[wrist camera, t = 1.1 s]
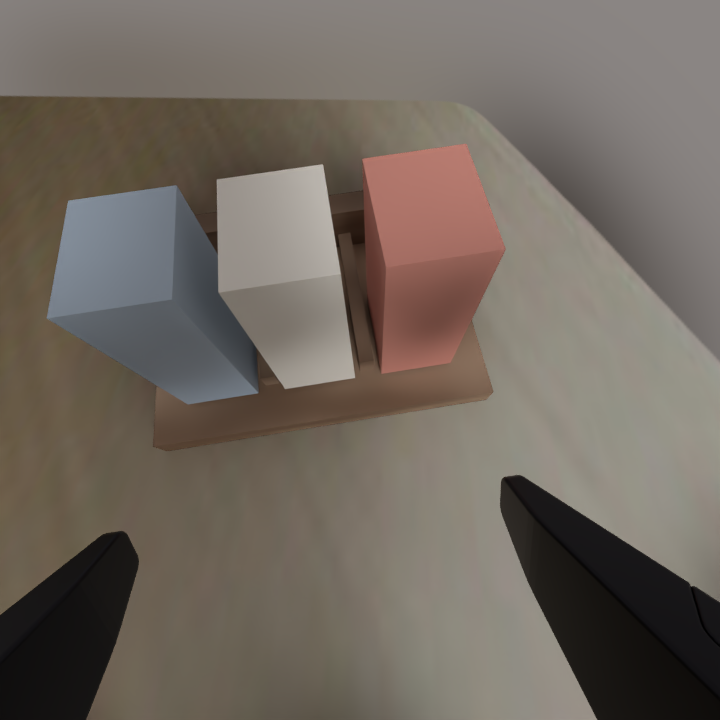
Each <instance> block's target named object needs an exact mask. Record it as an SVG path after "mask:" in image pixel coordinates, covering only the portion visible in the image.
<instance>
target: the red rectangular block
mask: <svg viewBox="0 0 720 720" xmlns="http://www.w3.org/2000/svg"><path fill="white" fill-rule="evenodd" d="M362 165H363V193H364V222H365V251H366V279H367V301H368V306H369V311H370V317H371V322H372V327H373V332H374V338H375V343H376V348H377V354H378V359H379V364H380V369H381V374H384V373H390V372H397V371H403V370H409V369H416V368H422V367H428V366H435V365H441V364H447V363H451V361H452V359H453V357H454V355H455V353H456V351H457V349H458V347H459V344H460V342H461V340H462V338H463V336H464V334H465V332H466V330H467V328H468V326H469V324H470V322H471V320H472V318H473V316H474V314H475V311H476V309H477V307H478V305H479V303H480V301H481V299H482V297H483V295H484V293H485V291H486V289H487V287H488V285H489V283H490V281H491V279H492V276H493V274H494V272H495V270H496V268H497V266H498V264H499V262H500V260H501V258H502V256H503V254H504V252H505V250H506V249H505V246H504V243H503V241H502V238H501V235H500V233H499V230H498V227H497V225H496V222H495V219H494V217H493V214H492V211H491V209H490V206H489V203H488V200H487V198H486V195H485V192H484V190H483V187H482V184H481V182H480V179H479V176H478V174H477V171H476V168H475V166H474V163H473V160H472V158H471V155H470V152H469V150H468V147H467V144H462V145H455V146H448V147H441V148H434V149H427V150H420V151H413V152H406V153H399V154H392V155H385V156H378V157H371V158H364V159H362Z"/></svg>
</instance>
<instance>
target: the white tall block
mask: <svg viewBox="0 0 720 720" xmlns="http://www.w3.org/2000/svg"><path fill="white" fill-rule="evenodd" d="M217 230H218V293H219V294H220V296H221V297H222V299H223V300H224V301H225V303H226V304H227V306H228V307H229V309H230V310H231V312H232V313H233V314H234V316H235V317H236V319H237V320H238V322H239V323H240V325H241V326H242V327H243V329H244V330H245V332H246V333H247V335H248V336H249V338H250V339H251V340H252V342H253V343H254V345H255V346H256V348H257V349H258V351H259V352H260V353H261V355H262V356H263V358H264V359H265V361H266V362H267V364H268V365H269V366H270V368H271V369H272V371H273V372H274V374H275V375H276V377H277V378H278V379H279V381H280V382H281V384H282V385H283V387H284V388H285V389H289V388H295V387H302V386H308V385H314V384H321V383H327V382H333V381H339V380H346V379H352V378H355V373H354V365H353V358H352V351H351V344H350V337H349V330H348V322H347V315H346V308H345V301H344V294H343V287H342V279H341V273H340V266H339V260H338V254H337V248H336V242H335V236H334V230H333V223H332V217H331V211H330V205H329V199H328V193H327V187H326V180H325V174H324V168H323V164H322V165H315V166H308V167H301V168H294V169H287V170H280V171H273V172H266V173H259V174H252V175H245V176H238V177H231V178H224V179H217Z"/></svg>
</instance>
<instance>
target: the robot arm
mask: <svg viewBox="0 0 720 720" xmlns="http://www.w3.org/2000/svg"><path fill="white" fill-rule="evenodd" d="M500 508H501V513H502V516H503V519H504V521H505V524H506V527H507V529H508V532H509V534H510V537H511V540H512V542H513V545H514V547H515V550H516V553H517V555H518V558H519V560H520V563H521V566H522V568H523V571H524V573H525V576H526V578H527V581H528V583H529V585H530V587H531V589H532V591H533V594H534V596H535V598H536V600H537V602H538V604H539V605H540V607H541V609H542V611H543V613H544V615H545V617H546V619H547V621H548V623H549V625H550V627H551V629H552V631H553V633H554V635H555V637H556V639H557V641H558V643H559V645H560V647H561V649H562V651H563V653H564V655H565V657H566V659H567V661H568V663H569V665H570V667H571V669H572V671H573V673H574V675H575V677H576V679H577V681H578V683H579V685H580V687H581V689H582V691H583V692H584V694H585V696H586V698H587V700H588V702H589V704H590V706H591V708H592V710H593V712H594V714H595V716H596V718H597V720H720V602H718V601H717V600H715V599H714V598H712V597H711V596H709V595H708V594H706V593H704V592H703V591H701V590H700V589H698V588H697V587H695V586H690V584H689V583H688V582H687V581H685V580H684V579H682V578H681V577H679V576H678V575H676V574H675V573H673V572H671V571H670V570H668V569H667V568H665V567H664V566H662V565H660V564H659V563H657V562H656V561H654V560H653V559H651V558H650V557H648V556H646V555H645V554H643V553H642V552H640V551H639V550H637V549H636V548H634V547H632V546H631V545H629V544H628V543H626V542H625V541H623V540H621V539H620V538H618V537H617V536H615V535H614V534H612V533H611V532H609V531H607V530H606V529H604V528H603V527H601V526H600V525H598V524H597V523H595V522H593V521H592V520H590V519H589V518H587V517H586V516H584V515H582V514H581V513H579V512H578V511H576V510H575V509H573V508H572V507H570V506H568V505H567V504H565V503H564V502H562V501H561V500H559V499H558V498H556V497H554V496H553V495H551V494H550V493H548V492H547V491H545V490H543V489H542V488H540V487H539V486H537V485H536V484H534V483H533V482H531V481H529V480H528V479H526V478H525V477H523V476H521V475H515V476H508V477H504V478H503V479H502V481H501V496H500ZM138 565H139V559H138V555H137V553H136V551H135V549H134V547H133V545H132V543H131V541H130V539H129V537H128V535H127V534H126V533H125V532H123V531H118V532H111V533H106V534H103V535H101V536H100V537H99V538H98V539H96V540H95V541H94V542H92V543H91V544H90V545H89V546H87V547H86V548H85V549H84V550H82V551H81V552H80V553H78V554H77V555H76V556H75V557H73V558H72V559H71V560H70V561H68V562H67V563H66V564H65V565H63V566H62V567H61V568H59V569H58V570H57V571H56V572H54V573H53V574H52V575H51V576H49V577H48V578H47V579H45V580H44V581H43V582H42V583H40V584H39V585H38V586H37V587H35V588H34V589H33V590H32V591H30V592H29V593H28V594H26V595H25V596H24V597H23V598H21V599H20V600H19V601H18V602H16V603H15V604H14V605H12V606H11V607H10V608H9V609H7V610H6V611H5V612H4V613H2V614H1V615H0V720H86V718H87V716H88V713H89V711H90V708H91V706H92V703H93V701H94V698H95V695H96V693H97V690H98V688H99V685H100V683H101V680H102V678H103V675H104V673H105V670H106V667H107V665H108V662H109V660H110V657H111V655H112V652H113V649H114V646H115V644H116V641H117V638H118V635H119V631H120V628H121V625H122V621H123V618H124V614H125V611H126V608H127V604H128V601H129V597H130V594H131V591H132V587H133V584H134V580H135V577H136V573H137V570H138Z"/></svg>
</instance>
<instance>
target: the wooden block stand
mask: <svg viewBox="0 0 720 720" xmlns="http://www.w3.org/2000/svg"><path fill="white" fill-rule="evenodd" d="M328 199H329V205H330V211H331V217H332V223H333V230H334V236H335V242H336V248H337V254H338V260H339V266H340V273H341V279H342V287H343V294H344V301H345V308H346V315H347V322H348V330H349V337H350V344H351V351H352V358H353V365H354V373H355V378H352V379H346V380H339V381H333V382H327V383H321V384H314V385H308V386H302V387H295V388H289V389H285V388H284V387H283V385H282V384H281V382H280V381H279V379H278V378H277V377H276V375H275V374H274V372H273V371H272V369H271V368H270V366H269V365H268V364H267V362H266V361H265V359H264V358H263V356H262V355H261V353H260V352H259V351H258V349H257V348H256V352H257V370H258V388H259V393H257V394H251V395H244V396H238V397H232V398H225V399H219V400H213V401H207V402H200V403H194V404H186V403H185V402H183V401H181V400H180V399H178V398H176V397H175V396H173V395H171V394H170V393H168V392H167V391H165V390H163V389H162V388H160V387H158V386H157V385H156V401H155V420H154V439H153V447H156V448H159V449H162V450H165V451H171V450H177V449H183V448H189V447H196V446H202V445H208V444H214V443H220V442H227V441H233V440H239V439H245V438H251V437H258V436H264V435H270V434H276V433H282V432H289V431H295V430H301V429H307V428H313V427H319V426H326V425H332V424H338V423H344V422H350V421H357V420H363V419H369V418H375V417H381V416H388V415H394V414H400V413H406V412H412V411H418V410H425V409H431V408H437V407H443V406H449V405H456V404H462V403H468V402H474V401H480V400H486V399H487V398H488V397H489V396H490V395H491V394H492V393H493V389H492V386H491V382H490V379H489V376H488V373H487V369H486V366H485V363H484V359H483V356H482V353H481V350H480V346H479V343H478V340H477V336H476V333H475V330H474V326H473V323H472V320H471V322H470V324H469V326H468V328H467V330H466V332H465V334H464V336H463V338H462V340H461V342H460V344H459V347H458V349H457V351H456V353H455V355H454V357H453V359H452V361H451V363H447V364H441V365H435V366H428V367H422V368H416V369H409V370H403V371H397V372H390V373H384V374H381V369H380V364H379V359H378V354H377V348H376V343H375V338H374V332H373V327H372V322H371V317H370V311H369V306H368V301H367V279H366V251H365V222H364V193H363V191H356V192H349V193H342V194H336V195H329V196H328ZM195 217H196V219H197V220H198V222H199V224H200V225H201V227H202V229H203V230H204V232H205V234H206V235H207V237H208V239H209V241H210V242H211V244H212V246H213V247H214V249H215V251H216V252H217V254H218V230H217V212H212V213H205V214H199V215H195Z"/></svg>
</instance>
